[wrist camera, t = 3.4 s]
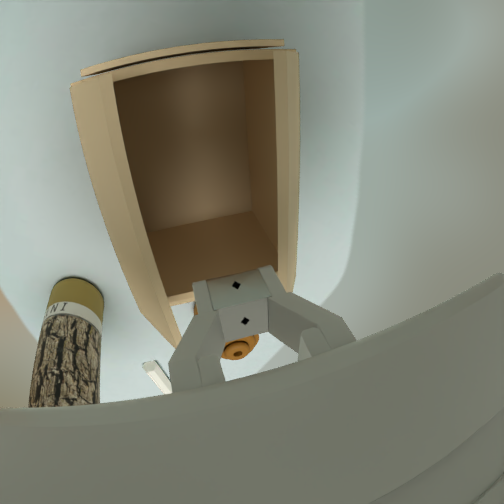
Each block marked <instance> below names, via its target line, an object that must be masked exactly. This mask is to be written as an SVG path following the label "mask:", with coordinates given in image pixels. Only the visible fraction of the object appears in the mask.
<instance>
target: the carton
mask: <svg viewBox="0 0 504 504" xmlns="http://www.w3.org/2000/svg"><path fill="white" fill-rule="evenodd" d="M279 46H284V40H283V39H259V40H234V41H220V42H209V43H200V44H192V45H184V46H178V47H171V48H165V49H160V50H155V51H149V52H145V53H140V54H135V55H131V56H127V57H123V58H119V59H115V60H111V61H108V62H104V63H101V64H97V65H94V66H91V67H88V68H84V69H81V70H80V71H81V77H83V76H89V75H95V74H100V73H103V74H100V75H97V76H93V77H90V78H87V79H84V80H81V81H78V82H75V83H72V84H71V87H73V86H75V85H78V84H80V83H83V82H85V81H88V80H91V79H93V78H96V77H99V76H102V75H106V74H110V73H112V80H113V87H114V93H115V99H116V105H117V111H118V116H119V122H120V127H121V132H122V137H123V142H124V146H125V151H126V156H127V160H128V164H129V169H130V173H131V177H132V181H133V185H134V189H135V193H136V197H137V201H138V205H139V208H140V212H141V216H142V219H143V223H144V226H145V230H146V233H147V237H148V240H149V243H150V247H151V250H152V253H153V256H154V260H155V263H156V266H157V269H158V272H159V275H160V278H161V281H162V284H163V287H164V290H165V293H166V296H167V299H168V302H169V304H170V306H174V305H179V304H183V303H188V302H192V301H195V297H194V292H193V287H192V283H193V282H198V281H203V280H207V279H212V278H217V277H222V276H227V275H232V274H236V273H240V272H244V271H248V270H253V269H257V268H260V267H264V266H268V265H271V266H272V267H273V269H274V271H275V273H276V274H277V276H278V195H277V143H276V109H275V82H274V59H273V51H291V52H296V49H260V48H268V47H279ZM240 49H258V50H240ZM226 50H237V51H226ZM215 51H224V52H215ZM205 52H213V53H205ZM197 53H204V54H197ZM189 54H196V55H189ZM182 55H188V56H182ZM176 56H181V57H176ZM170 57H175V58H170ZM164 58H169V59H164ZM159 59H163V60H159ZM154 60H158V61H154ZM149 61H153V62H149ZM144 62H148V63H144ZM139 63H143V64H139ZM135 64H139V65H135ZM131 65H134V66H131ZM126 66H130V67H126ZM122 67H126V68H122ZM119 68H122V69H119ZM115 69H118V70H115ZM111 70H114V71H111ZM107 71H110V72H107ZM104 72H107V73H104Z"/></svg>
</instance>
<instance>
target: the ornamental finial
mask: <svg viewBox="0 0 504 504" xmlns="http://www.w3.org/2000/svg"><path fill="white" fill-rule="evenodd" d="M194 315H198V311H197V307H196V304H195V307H194ZM258 340H259V335H258V334H256V335H252V336H248V337H244V338H241V339H237V340H233V341H230V342H226V343H225V347H224V350H223V353H222V356H221V358H224V359H230V360H239V359H242V358H244V357H245V356H247V354H248V353H250V352H251V351H252V350H253V348H254V347H255V345H256V344H257V342H258Z"/></svg>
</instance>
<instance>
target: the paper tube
mask: <svg viewBox="0 0 504 504" xmlns="http://www.w3.org/2000/svg"><path fill="white" fill-rule="evenodd" d="M103 310H104V301H103V298H102V296H101V294H100V292H99V291H98V290H97V289H96V288H95V287H94V286H93V285H92V284H90V283H88V282H86V281H84V280H81V279H76V278H69V279H65V280H62V281H60V282H58V283H57V284H56V285H55V286H54V287H53V289H52V292H51V295H50V298H49V302H48V305H47V309H46V312H45V316H44V320H43V324H42V328H41V333H40V337H39V342H38V346H37V351H36V357H35V362H34V368H33V374H32V380H31V388H30V396H29V404H28V408H36V407H62V406H77V405H89V404H100V355H101V337H102V321H103Z"/></svg>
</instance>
